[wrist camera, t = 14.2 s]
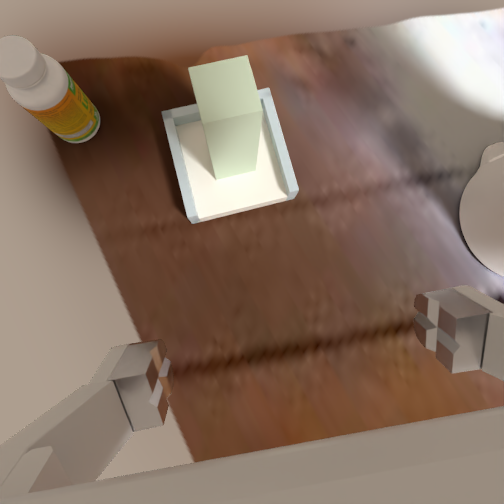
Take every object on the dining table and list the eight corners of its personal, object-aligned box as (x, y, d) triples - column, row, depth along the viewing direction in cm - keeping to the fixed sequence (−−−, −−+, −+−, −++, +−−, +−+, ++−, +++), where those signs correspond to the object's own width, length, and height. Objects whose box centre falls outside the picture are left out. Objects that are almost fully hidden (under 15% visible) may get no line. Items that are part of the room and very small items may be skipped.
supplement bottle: (111, 125, 33) (57, 60, 24) (73, 153, 33) (2, 98, 23) (83, 92, 34) (19, 14, 24) (45, 119, 33) (-36, 51, 23)
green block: (245, 133, 32) (247, 55, 21) (255, 170, 32) (262, 110, 21) (206, 142, 32) (188, 67, 21) (216, 180, 31) (202, 123, 20)
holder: (266, 104, 34) (269, 87, 31) (293, 198, 33) (298, 190, 30) (168, 127, 33) (161, 111, 30) (192, 223, 32) (187, 217, 29)
